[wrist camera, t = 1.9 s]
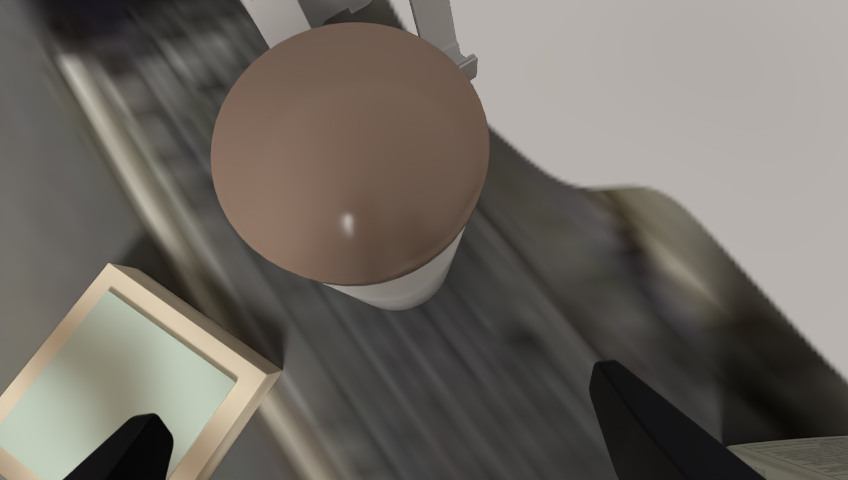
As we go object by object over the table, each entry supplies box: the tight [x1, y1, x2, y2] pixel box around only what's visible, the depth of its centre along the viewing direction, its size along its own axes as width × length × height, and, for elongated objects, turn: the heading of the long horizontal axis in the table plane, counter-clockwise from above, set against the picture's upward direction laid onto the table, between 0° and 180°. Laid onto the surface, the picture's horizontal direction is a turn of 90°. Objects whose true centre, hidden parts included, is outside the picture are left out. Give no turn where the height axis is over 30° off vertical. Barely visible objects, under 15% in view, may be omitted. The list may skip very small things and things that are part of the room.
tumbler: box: [211, 22, 490, 311], centre depth 15 cm, size 6×6×13 cm
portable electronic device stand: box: [240, 0, 477, 81], centre depth 19 cm, size 9×8×8 cm
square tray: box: [0, 263, 283, 480], centre depth 18 cm, size 9×9×2 cm
